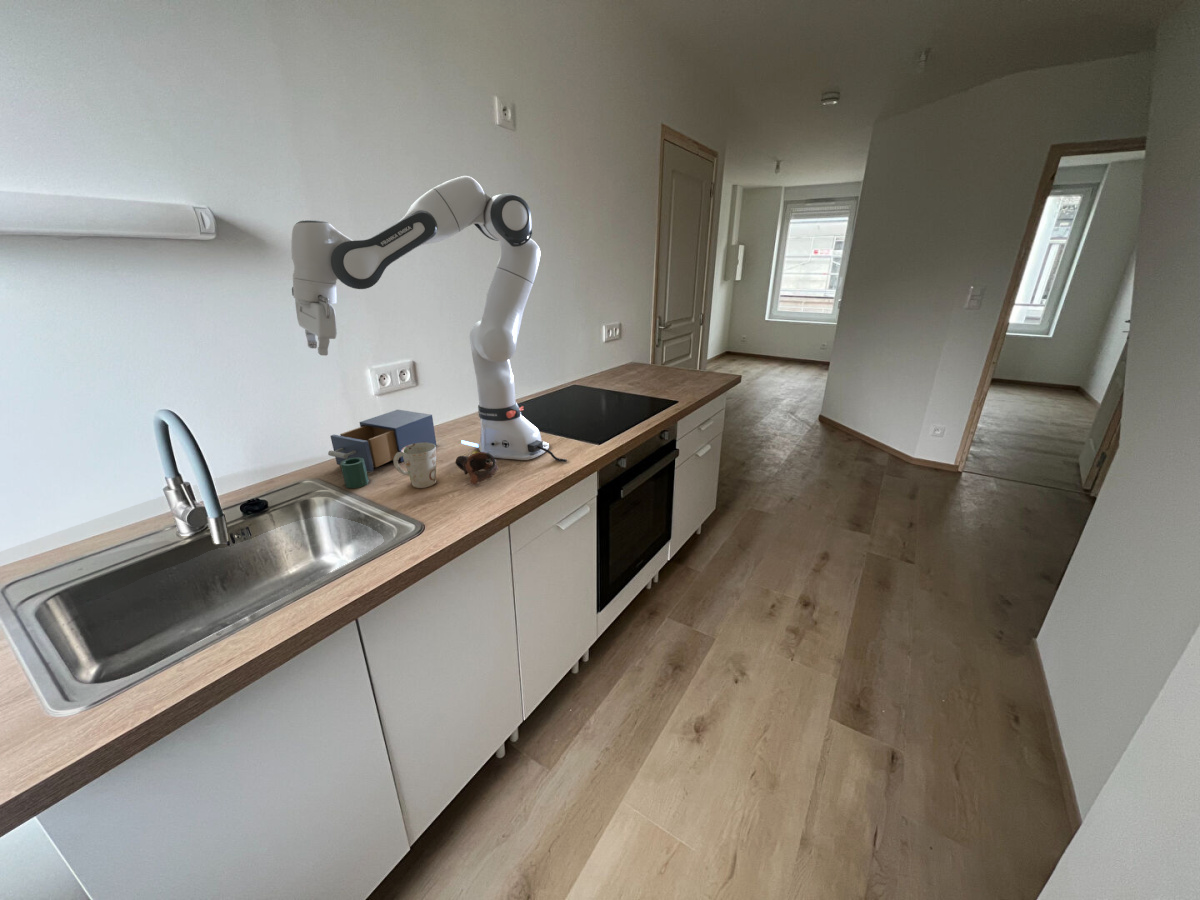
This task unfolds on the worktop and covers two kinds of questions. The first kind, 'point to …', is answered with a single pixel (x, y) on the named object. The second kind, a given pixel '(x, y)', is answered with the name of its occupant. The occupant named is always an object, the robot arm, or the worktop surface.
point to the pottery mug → (477, 466)
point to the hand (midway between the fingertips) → (317, 351)
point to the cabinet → (405, 427)
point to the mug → (418, 463)
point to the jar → (354, 472)
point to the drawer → (365, 446)
